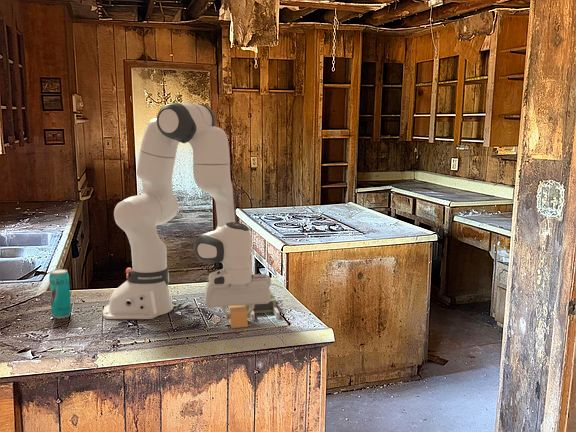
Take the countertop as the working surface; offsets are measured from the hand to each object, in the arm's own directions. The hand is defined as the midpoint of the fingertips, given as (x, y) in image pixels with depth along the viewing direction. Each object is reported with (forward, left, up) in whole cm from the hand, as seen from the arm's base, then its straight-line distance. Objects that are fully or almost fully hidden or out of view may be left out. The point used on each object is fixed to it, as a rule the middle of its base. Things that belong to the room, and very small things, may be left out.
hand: (238, 318), depth 167 cm
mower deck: (+8, +12, -2) cm, 14 cm away
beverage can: (-55, +17, -2) cm, 58 cm away
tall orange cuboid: (0, 0, -2) cm, 2 cm away
